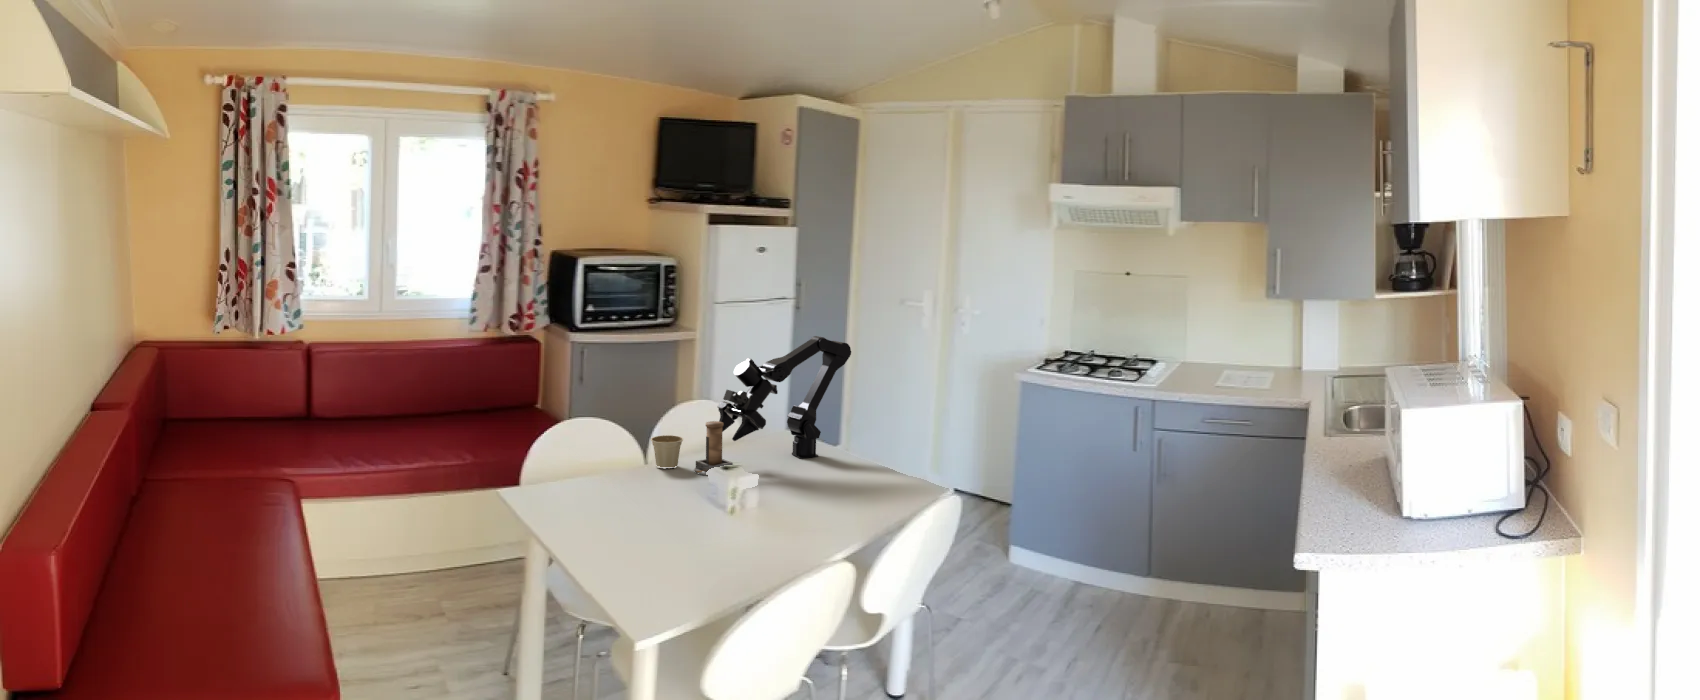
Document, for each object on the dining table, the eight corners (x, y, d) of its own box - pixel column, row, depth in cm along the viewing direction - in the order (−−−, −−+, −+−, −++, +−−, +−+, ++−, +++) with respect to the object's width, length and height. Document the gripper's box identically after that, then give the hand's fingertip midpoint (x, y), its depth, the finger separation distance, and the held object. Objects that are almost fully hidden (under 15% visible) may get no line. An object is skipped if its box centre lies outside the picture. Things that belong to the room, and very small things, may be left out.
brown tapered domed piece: (717, 465, 306) (717, 420, 304) (726, 469, 302) (726, 423, 300) (701, 468, 302) (702, 422, 300) (711, 472, 298) (711, 425, 296)
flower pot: (679, 471, 300) (679, 442, 299) (647, 470, 300) (647, 441, 299) (685, 463, 310) (685, 435, 308) (654, 462, 310) (654, 434, 309)
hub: (720, 464, 310) (720, 455, 310) (741, 472, 301) (741, 463, 301) (686, 469, 303) (686, 460, 302) (707, 478, 294) (707, 468, 294)
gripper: (722, 375, 311) (691, 415, 306) (757, 384, 297) (725, 426, 291) (744, 397, 317) (714, 437, 312) (779, 407, 303) (748, 449, 297)
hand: (724, 437), depth 303 cm, fingers open, 9 cm apart
